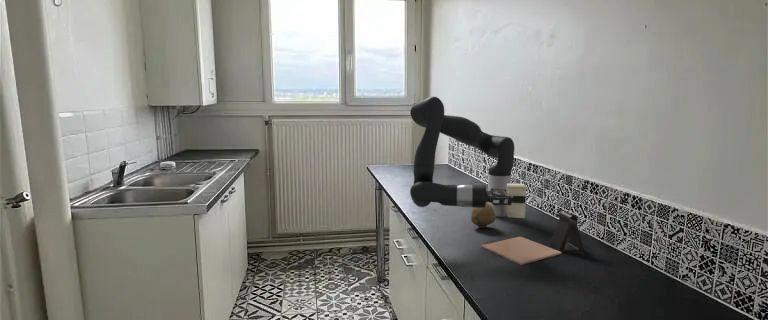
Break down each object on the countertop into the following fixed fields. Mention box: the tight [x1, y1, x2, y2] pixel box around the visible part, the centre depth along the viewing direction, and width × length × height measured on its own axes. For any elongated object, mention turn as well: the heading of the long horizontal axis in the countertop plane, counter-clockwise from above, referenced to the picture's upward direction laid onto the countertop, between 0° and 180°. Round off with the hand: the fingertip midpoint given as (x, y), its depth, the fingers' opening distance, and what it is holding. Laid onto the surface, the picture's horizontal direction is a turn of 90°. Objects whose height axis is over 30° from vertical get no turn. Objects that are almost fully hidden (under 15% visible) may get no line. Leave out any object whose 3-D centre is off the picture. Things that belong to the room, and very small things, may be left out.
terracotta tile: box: [480, 236, 563, 266], centre depth 148 cm, size 18×18×1 cm
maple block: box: [506, 183, 527, 219], centre depth 146 cm, size 5×5×10 cm
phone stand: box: [549, 210, 585, 253], centre depth 149 cm, size 9×6×12 cm, turn 99°
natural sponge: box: [470, 202, 496, 228], centre depth 172 cm, size 9×9×10 cm
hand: (523, 197), depth 145 cm, fingers closed on maple block, 5 cm apart
